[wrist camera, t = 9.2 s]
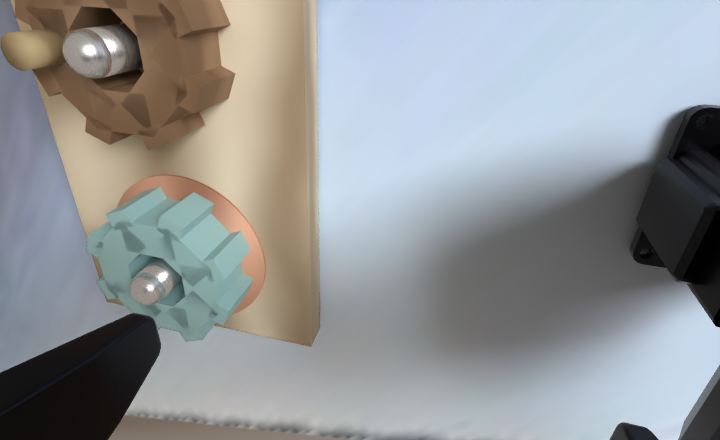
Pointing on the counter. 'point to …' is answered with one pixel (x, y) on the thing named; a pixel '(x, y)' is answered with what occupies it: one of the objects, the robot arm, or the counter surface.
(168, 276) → the steel pegs
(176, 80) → the gear
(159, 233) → the loose gear
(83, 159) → the gear board
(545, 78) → the counter surface
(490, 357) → the counter surface
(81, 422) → the robot arm
